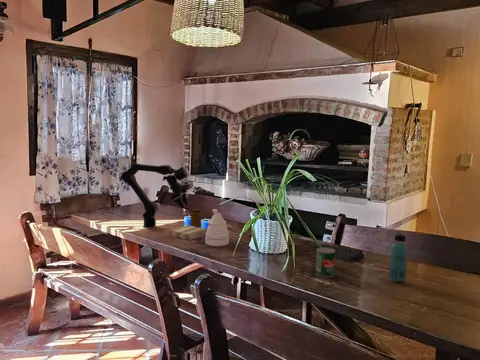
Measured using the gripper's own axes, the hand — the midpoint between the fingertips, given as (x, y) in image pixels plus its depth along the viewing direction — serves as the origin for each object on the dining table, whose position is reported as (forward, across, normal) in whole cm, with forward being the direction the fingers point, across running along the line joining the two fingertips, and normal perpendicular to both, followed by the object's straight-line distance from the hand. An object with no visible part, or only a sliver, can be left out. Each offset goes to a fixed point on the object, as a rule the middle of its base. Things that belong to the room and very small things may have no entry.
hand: (185, 206), depth 257 cm
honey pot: (+24, -28, -15) cm, 40 cm away
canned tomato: (+50, -68, -63) cm, 106 cm away
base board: (+15, -15, +1) cm, 21 cm away
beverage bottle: (+64, -72, -89) cm, 132 cm away
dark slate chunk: (+56, -39, -72) cm, 99 cm away
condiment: (+16, -1, +1) cm, 16 cm away
